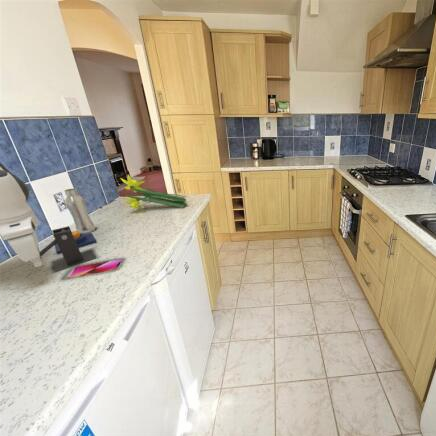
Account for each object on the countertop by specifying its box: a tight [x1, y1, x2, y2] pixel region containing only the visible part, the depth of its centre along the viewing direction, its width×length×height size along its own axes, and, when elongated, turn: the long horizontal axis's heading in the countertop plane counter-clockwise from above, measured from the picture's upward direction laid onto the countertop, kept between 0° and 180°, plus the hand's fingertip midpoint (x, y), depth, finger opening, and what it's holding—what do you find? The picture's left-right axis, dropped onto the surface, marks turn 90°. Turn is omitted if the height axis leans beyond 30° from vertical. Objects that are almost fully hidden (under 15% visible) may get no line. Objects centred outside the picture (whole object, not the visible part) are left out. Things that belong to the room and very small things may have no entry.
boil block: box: [54, 232, 98, 255], centre depth 96 cm, size 12×10×4 cm
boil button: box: [71, 230, 81, 239], centre depth 95 cm, size 4×4×2 cm
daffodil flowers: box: [119, 174, 187, 209], centre depth 132 cm, size 17×15×35 cm
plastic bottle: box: [64, 188, 96, 234], centre depth 104 cm, size 6×7×20 cm
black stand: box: [52, 225, 97, 273], centre depth 83 cm, size 11×9×13 cm
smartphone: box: [67, 258, 124, 279], centre depth 81 cm, size 7×1×15 cm
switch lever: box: [39, 229, 66, 259], centre depth 80 cm, size 12×5×2 cm
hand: (38, 261), depth 79 cm, fingers closed on switch lever, 5 cm apart
